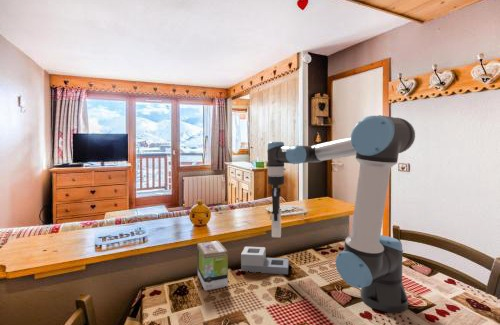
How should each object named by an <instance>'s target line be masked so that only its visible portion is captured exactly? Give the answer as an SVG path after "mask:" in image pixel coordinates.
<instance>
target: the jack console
mask: <svg viewBox="0 0 500 325" xmlns="http://www.w3.org/2000/svg"><path fill="white" fill-rule="evenodd" d="M266 255H267V254H266V247H264V246H244V247H243V250H242V251H241V253H240V266H241V267H240V271H247V272H246V273H256V272H261V274H274V275H278V274H279V275H288V274H289V264H290V262H289V258H284V257H282V258H281V257H279V258H278V257H266ZM248 271H249V272H248Z"/></svg>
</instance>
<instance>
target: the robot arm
mask: <svg viewBox="0 0 500 325" xmlns="http://www.w3.org/2000/svg"><path fill="white" fill-rule="evenodd" d="M415 138H416V130H415V129H414V127H413V125H412V124H411V123H410V122H409V121H408V120H407V119H404V118H400V117H393V116H387V115H381V114H379V115H367V116H366V117H364V118H362V119H360V120H359V121H358V122H357V123H356V124H355V125H354V127H353V129H352V132H351V135H350V136H347V137H342V138H339V139H333V140H331V141H330V140H329V141H325V142H322V143H317V144H313V145H298V144H297V145H295V144H294V145H285V143H284V141H270V142H268V143H267V150H266V151H267V175H268V176H267V184H268V185H270V186H272V188H271V190H270V191H271V199H272V200H271V201H272V202H271V204H272V209H273V211H272V210H271V211H272V212H270V213H271V214H273V228H279V209H281V206H280V204H281V203H280V198H281V189H282V188H281V187H280V186H282V185H285V176H284V175H285V171H286V168H285V164H293V165H297V164H298V165H299V164H306V163H313V164H315V163H321V162H323V161H328V160H335V159H340V158H347V157H354V156H355V160H356V161H357V162H358V163H359V169H358V177H357V185H356V186H357V187H356V191H355V192H356V193H355V194H356V195H355V202H354V208H353V215H352V224H351V230H350V231H351V232H350V235H348V236H347V237H346V238H345V240H344V247H343V250H341V251H340V252H339V253H338V254H337V255H336V258H335V267H336V271H337V273H338V274H339V275H340V278H341V279H342V280H343V281H344V282H345V283H346V284H347V285H348V286H350V287H353V288H356V289H360V298H361V300H362V302H363V303H364V304H365V305H367V306H369V308H372V309H374V310H377V311H381V312H385V313H392V314H397V313H398V314H399V313H403V312H405V311H406V310H407V309H408V308H409V299H408V295H407V293H406V290H405V288H404V287H405V286H404V284H403V254H404V253H403V252H404V249H403V243H402V242H401V241H400V239H397V238H395V237H391V236H387V235H382V228H383V220H384V214H385V208H386V203H387V195H388V187H389V181H390V174H391V168H392V167H394V166H395V165H397V164H398V160H399V154H402V153H404V152H406V151H408V150H409V149H410V148H411V147H412V146H413V145H414V142H415Z"/></svg>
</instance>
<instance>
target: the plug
mask: <svg viewBox="0 0 500 325" xmlns="http://www.w3.org/2000/svg"><path fill="white" fill-rule="evenodd" d="M272 211H273V208H272V209H271V212H272ZM271 212H270V214H269V220H270V221H271V238H281V236H282V208H279V228H273V214H271Z"/></svg>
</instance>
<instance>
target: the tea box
mask: <svg viewBox="0 0 500 325" xmlns="http://www.w3.org/2000/svg"><path fill="white" fill-rule="evenodd" d="M196 247H197V248H196V249H197V251H196V252H197V254H196V255H197V278H199V280H200V284H201V286H202V287H203V288H202V289H203V290H204V291H211V290H215V289H220V288H221V289H222V288H225V286H226V287H228V284H229V280H228V279H229V278H228V277H229V276H228V272H229V270H228V267H229V266H228V265H229V264H228V262H229V261H228V260H229V259H228V258H229V255H228V250H227V248H225V246H224V245H223V244H222V243H221V242H220V241H219V240H214V241H212V240H211V241H205V242H204V241H203V242H198V243H197V246H196Z"/></svg>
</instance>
